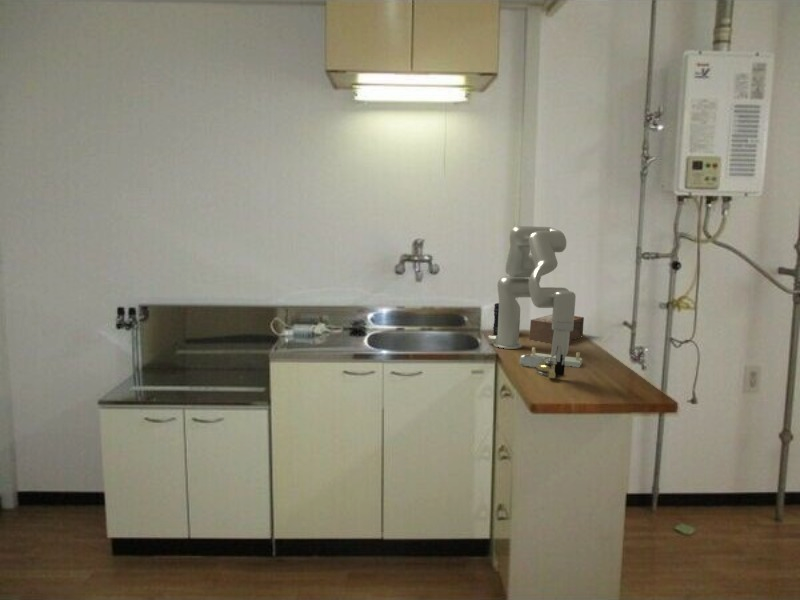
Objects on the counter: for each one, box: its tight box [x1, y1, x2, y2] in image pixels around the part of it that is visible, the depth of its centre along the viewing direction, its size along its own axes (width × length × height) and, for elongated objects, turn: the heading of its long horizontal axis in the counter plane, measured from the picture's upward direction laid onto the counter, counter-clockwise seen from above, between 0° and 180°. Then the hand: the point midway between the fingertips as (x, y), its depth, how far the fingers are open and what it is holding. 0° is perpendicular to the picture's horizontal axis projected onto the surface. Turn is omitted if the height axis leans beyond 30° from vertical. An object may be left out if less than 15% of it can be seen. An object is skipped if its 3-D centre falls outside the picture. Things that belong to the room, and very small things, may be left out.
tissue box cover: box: [529, 313, 585, 345], centre depth 293 cm, size 26×14×10 cm, turn 139°
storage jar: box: [492, 302, 499, 336], centre depth 299 cm, size 10×10×15 cm
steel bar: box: [519, 353, 556, 368], centre depth 240 cm, size 4×14×4 cm, turn 67°
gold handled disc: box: [537, 360, 556, 379], centre depth 227 cm, size 15×8×3 cm, turn 173°
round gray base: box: [535, 368, 557, 377], centre depth 231 cm, size 9×9×1 cm
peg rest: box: [530, 347, 583, 368], centre depth 247 cm, size 20×8×5 cm, turn 67°
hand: (559, 374), depth 223 cm, fingers closed
